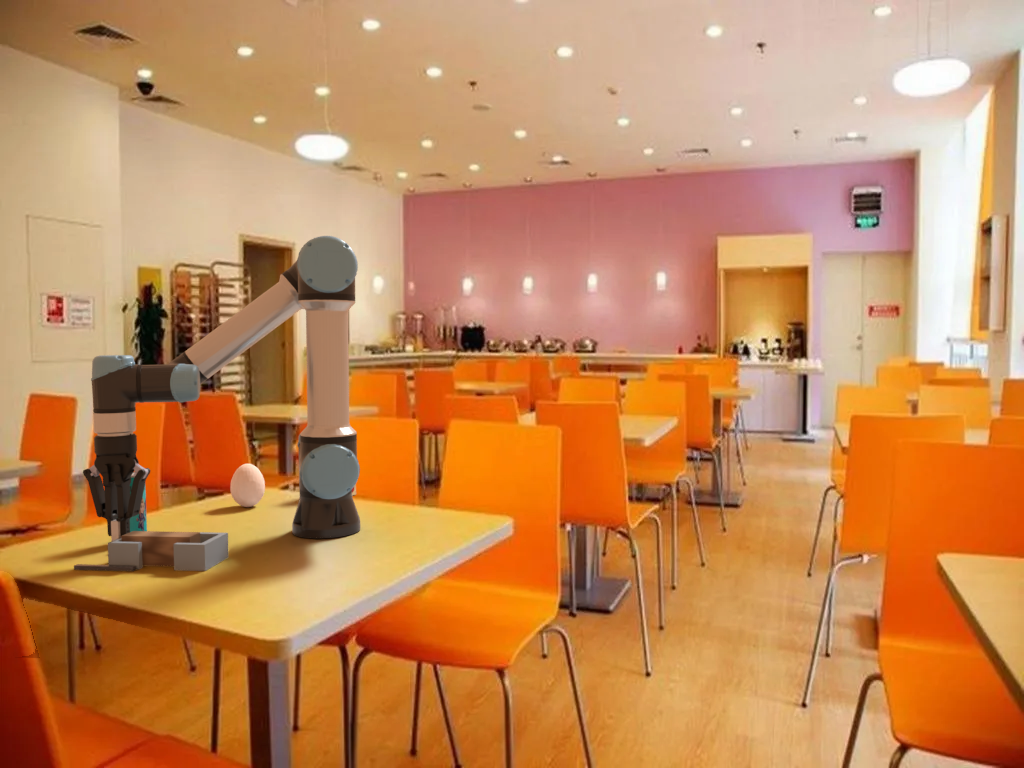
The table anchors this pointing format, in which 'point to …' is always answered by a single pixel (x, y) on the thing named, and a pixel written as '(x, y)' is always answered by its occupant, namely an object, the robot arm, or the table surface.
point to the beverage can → (139, 520)
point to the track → (105, 567)
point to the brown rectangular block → (160, 545)
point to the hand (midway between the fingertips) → (119, 552)
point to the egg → (247, 485)
